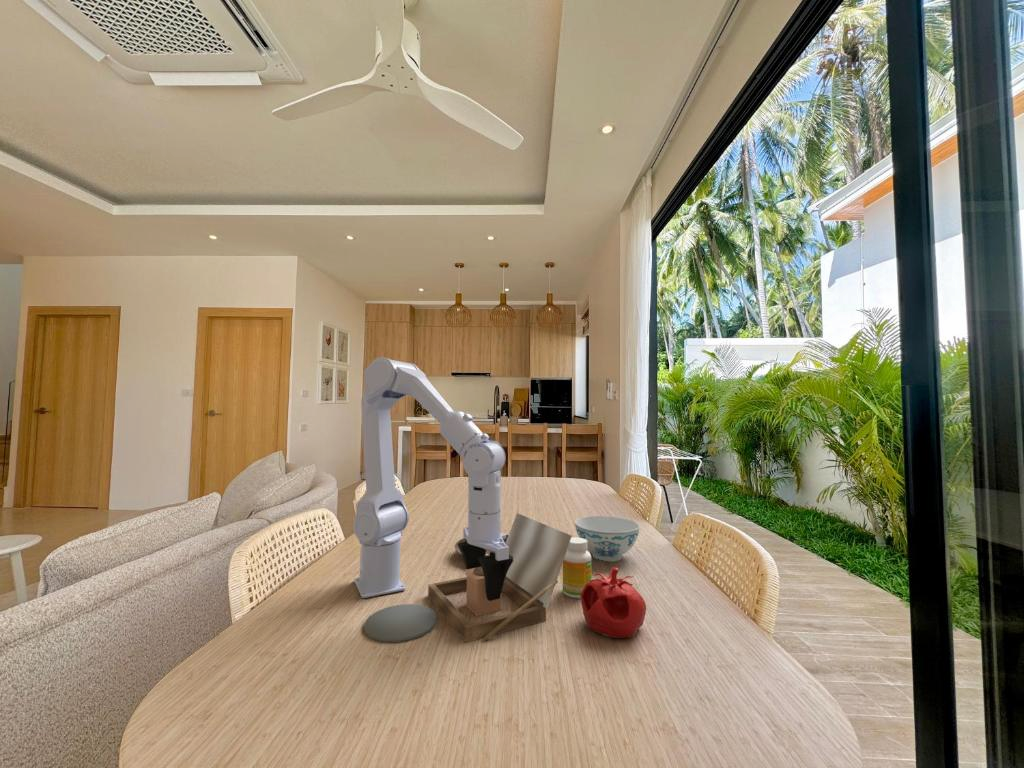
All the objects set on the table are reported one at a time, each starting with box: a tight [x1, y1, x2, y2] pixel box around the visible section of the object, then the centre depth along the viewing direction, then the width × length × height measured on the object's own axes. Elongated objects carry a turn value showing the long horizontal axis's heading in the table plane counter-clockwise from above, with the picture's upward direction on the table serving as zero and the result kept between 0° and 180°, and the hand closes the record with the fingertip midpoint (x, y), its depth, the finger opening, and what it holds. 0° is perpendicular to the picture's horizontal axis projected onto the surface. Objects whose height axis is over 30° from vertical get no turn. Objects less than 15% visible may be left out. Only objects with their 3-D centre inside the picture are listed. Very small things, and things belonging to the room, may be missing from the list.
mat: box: [364, 603, 437, 643], centre depth 67 cm, size 11×11×1 cm
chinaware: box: [574, 515, 641, 562], centre depth 99 cm, size 15×15×8 cm
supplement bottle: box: [562, 536, 593, 599], centre depth 79 cm, size 5×5×10 cm
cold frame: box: [427, 512, 573, 643], centre depth 74 cm, size 19×19×13 cm
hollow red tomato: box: [580, 566, 647, 639], centre depth 66 cm, size 10×10×9 cm
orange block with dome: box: [464, 567, 502, 617], centre depth 73 cm, size 5×5×6 cm
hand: (483, 590), depth 73 cm, fingers open, 7 cm apart
